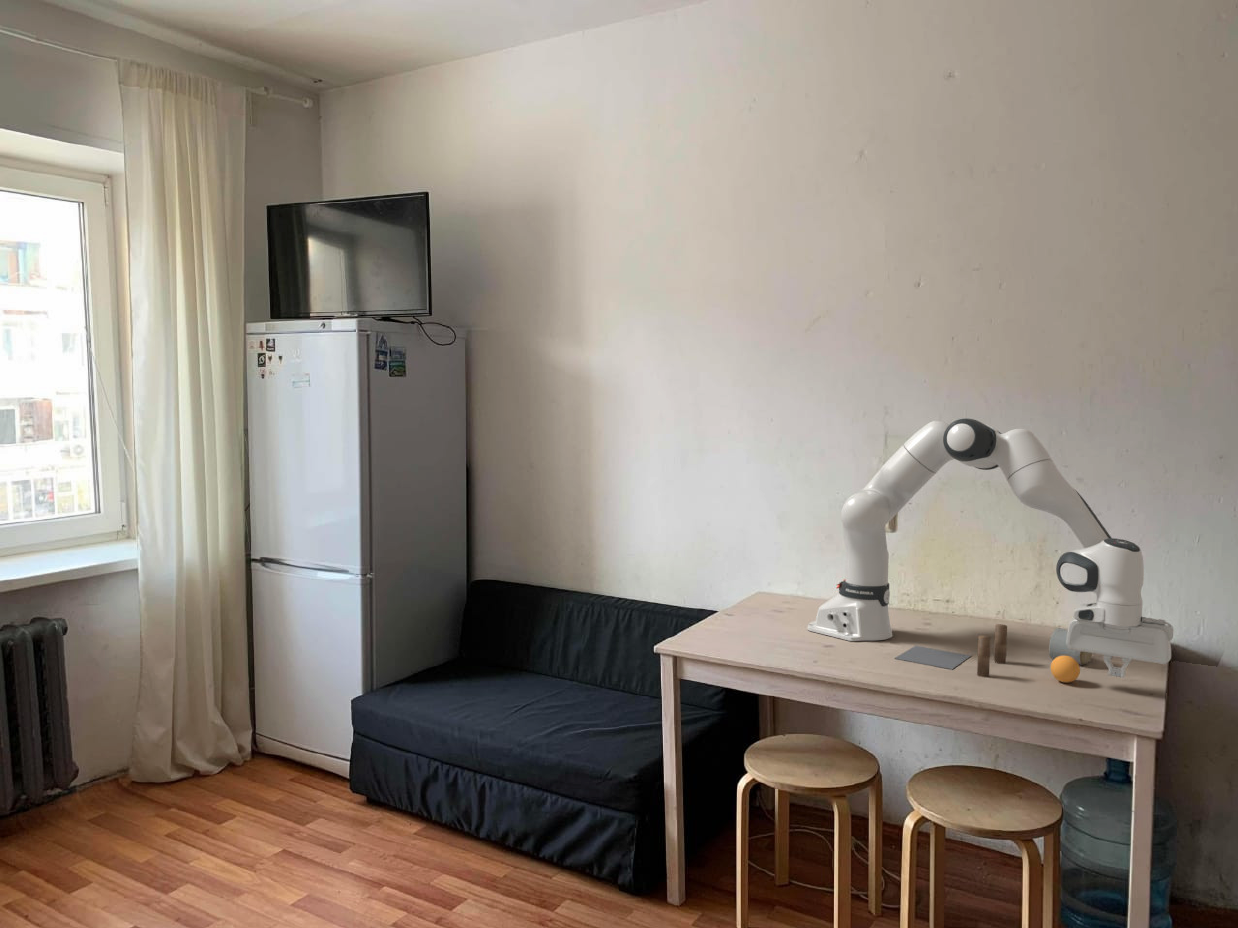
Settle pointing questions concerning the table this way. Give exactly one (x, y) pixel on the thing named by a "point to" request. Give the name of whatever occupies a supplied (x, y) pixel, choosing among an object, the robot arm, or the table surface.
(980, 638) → the post near
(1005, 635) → the post far
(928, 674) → the table surface
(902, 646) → the table surface
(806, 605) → the table surface
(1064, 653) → the grey cylinder
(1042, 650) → the table surface
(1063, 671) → the ball
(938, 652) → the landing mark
